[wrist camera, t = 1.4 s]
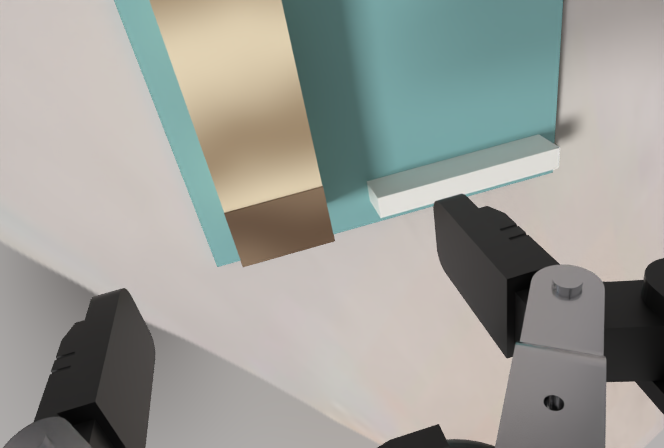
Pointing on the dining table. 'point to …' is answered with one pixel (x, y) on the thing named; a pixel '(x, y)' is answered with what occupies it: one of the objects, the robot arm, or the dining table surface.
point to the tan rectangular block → (249, 121)
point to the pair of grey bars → (462, 174)
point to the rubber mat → (382, 92)
